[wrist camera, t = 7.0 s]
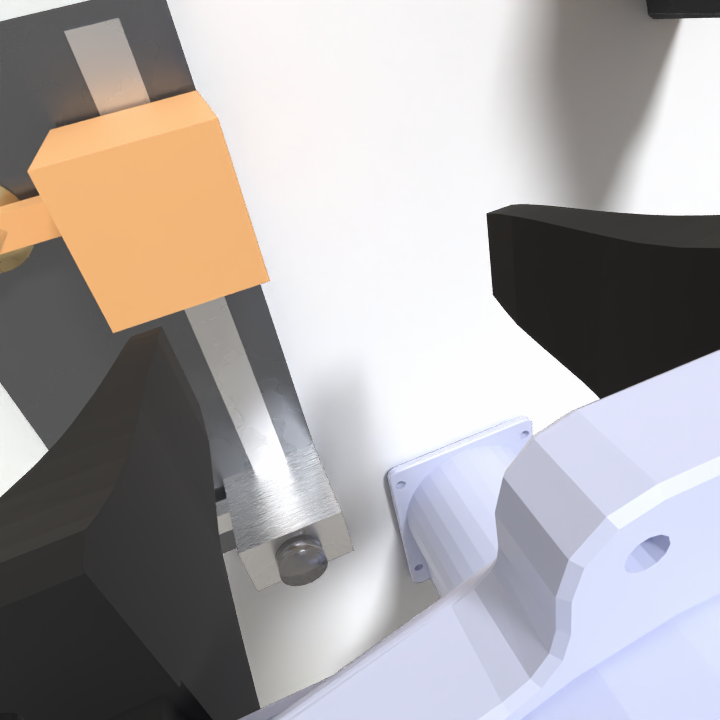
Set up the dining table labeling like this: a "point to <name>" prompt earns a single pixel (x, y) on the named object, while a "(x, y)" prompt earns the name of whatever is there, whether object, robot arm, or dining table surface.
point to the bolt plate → (183, 328)
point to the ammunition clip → (683, 9)
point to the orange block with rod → (142, 209)
